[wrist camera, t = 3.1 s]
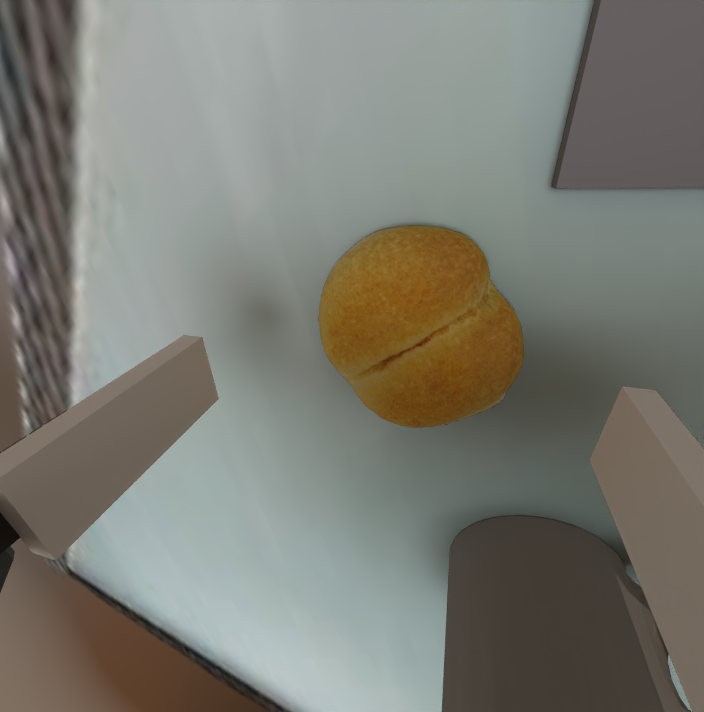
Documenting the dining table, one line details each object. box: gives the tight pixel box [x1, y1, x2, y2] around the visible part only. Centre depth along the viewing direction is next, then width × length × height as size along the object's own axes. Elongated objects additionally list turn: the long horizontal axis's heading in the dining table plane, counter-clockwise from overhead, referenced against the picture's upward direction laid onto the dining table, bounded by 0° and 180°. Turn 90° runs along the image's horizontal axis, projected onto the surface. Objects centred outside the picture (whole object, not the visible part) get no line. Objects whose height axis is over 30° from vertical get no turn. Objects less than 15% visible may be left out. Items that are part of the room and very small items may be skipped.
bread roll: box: [318, 225, 524, 428], centre depth 15 cm, size 8×9×4 cm
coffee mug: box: [442, 516, 691, 712], centre depth 17 cm, size 13×10×10 cm
